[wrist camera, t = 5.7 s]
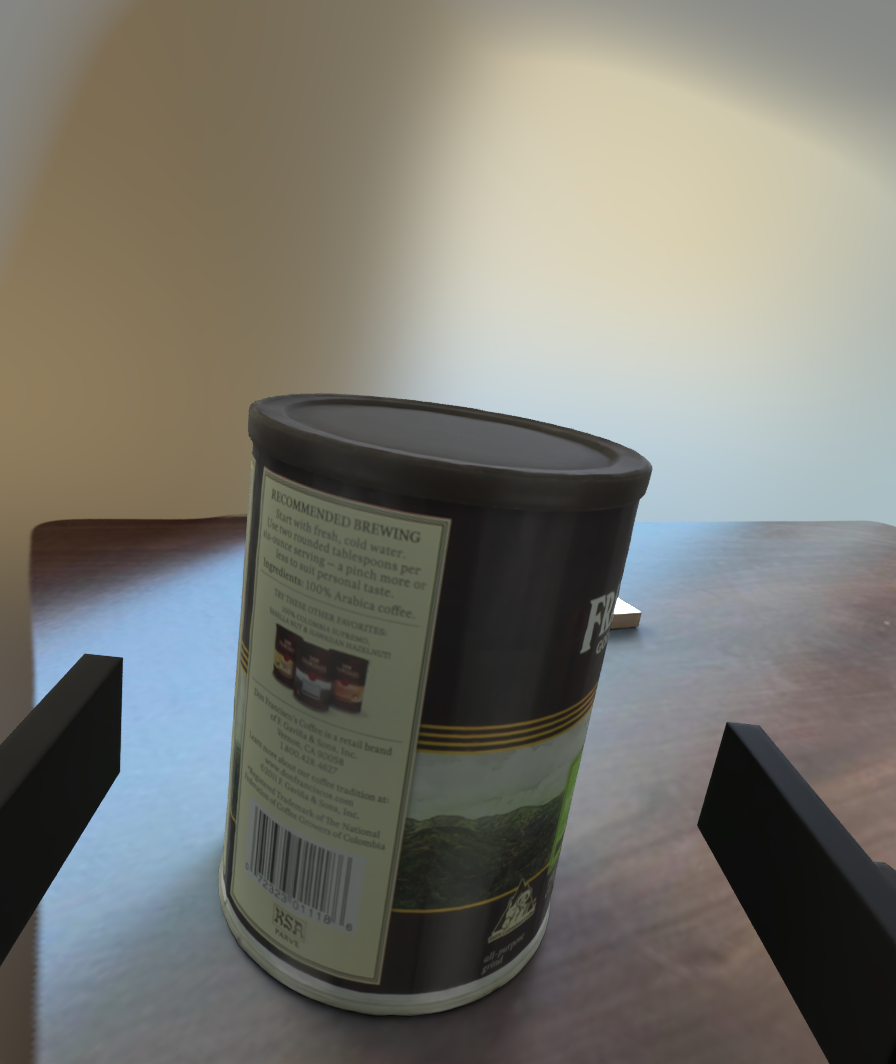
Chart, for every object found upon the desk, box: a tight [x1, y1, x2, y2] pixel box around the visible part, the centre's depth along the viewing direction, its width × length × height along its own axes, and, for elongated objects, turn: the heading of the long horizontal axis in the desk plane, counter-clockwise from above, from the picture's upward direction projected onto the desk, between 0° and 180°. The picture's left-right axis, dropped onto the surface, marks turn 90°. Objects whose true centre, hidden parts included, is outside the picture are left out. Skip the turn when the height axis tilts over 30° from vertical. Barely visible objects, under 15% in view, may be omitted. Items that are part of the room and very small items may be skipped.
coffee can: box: [218, 394, 652, 1016], centre depth 21 cm, size 10×10×14 cm
